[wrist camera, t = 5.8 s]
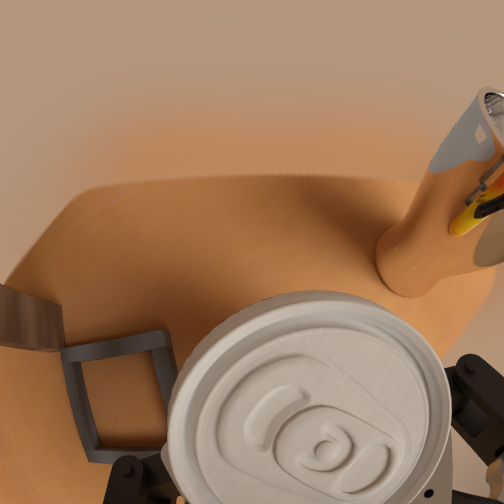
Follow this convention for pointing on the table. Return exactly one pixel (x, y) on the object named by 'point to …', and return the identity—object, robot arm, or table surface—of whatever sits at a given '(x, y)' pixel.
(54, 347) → the overhang bracket
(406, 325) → the beer can
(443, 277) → the beer glass
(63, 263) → the table surface
